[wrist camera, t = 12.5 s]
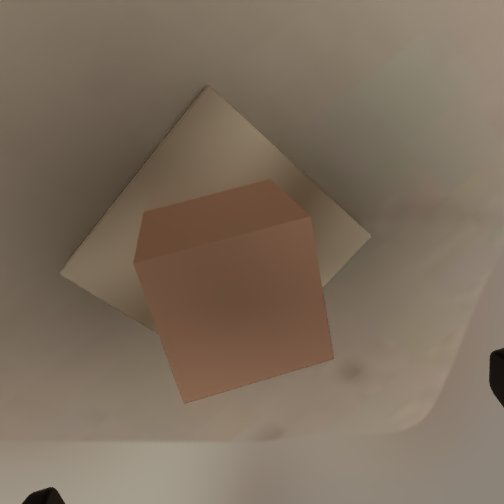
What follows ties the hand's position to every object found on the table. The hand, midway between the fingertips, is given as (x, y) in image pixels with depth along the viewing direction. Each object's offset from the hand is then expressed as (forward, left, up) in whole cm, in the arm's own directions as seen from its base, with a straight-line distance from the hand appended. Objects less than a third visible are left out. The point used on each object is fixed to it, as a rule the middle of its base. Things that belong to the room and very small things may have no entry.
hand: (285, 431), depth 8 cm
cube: (0, 0, -10) cm, 10 cm away
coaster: (0, 0, -10) cm, 11 cm away
